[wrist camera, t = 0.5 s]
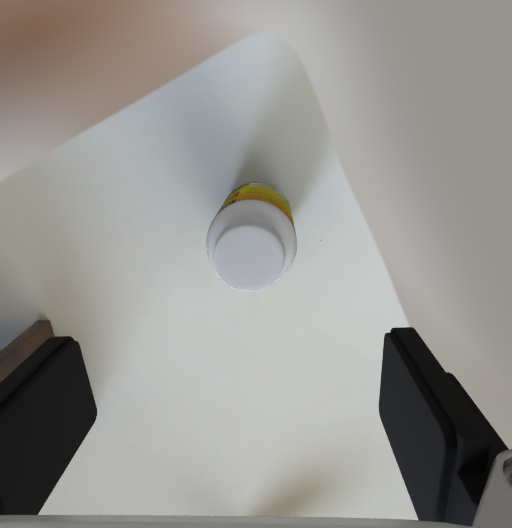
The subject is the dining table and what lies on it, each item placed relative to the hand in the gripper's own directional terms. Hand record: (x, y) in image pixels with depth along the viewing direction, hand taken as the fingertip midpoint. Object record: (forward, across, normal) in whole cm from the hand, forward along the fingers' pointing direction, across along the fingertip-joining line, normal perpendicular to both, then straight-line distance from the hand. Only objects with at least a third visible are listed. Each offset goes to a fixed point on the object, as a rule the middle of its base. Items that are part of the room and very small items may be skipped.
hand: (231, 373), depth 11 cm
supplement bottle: (+20, 0, 0) cm, 20 cm away
